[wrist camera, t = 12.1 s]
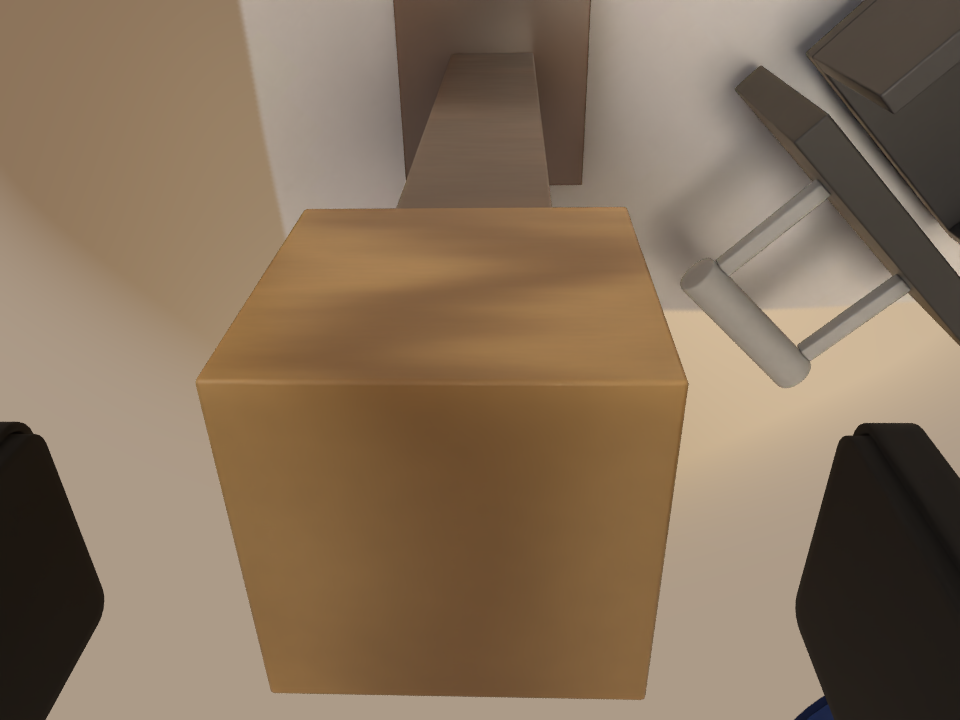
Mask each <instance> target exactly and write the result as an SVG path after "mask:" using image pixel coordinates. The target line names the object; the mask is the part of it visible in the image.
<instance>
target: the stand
mask: <svg viewBox="0 0 960 720" xmlns="http://www.w3.org/2000/svg"><path fill="white" fill-rule="evenodd" d="M393 3H394V17H395V31H396V46H397V60H398V74H399V88H400V102H401V117H402V131H403V145H404V159H405V174H406V183H405V185H404V188H403V191H402V194H401V196H400V199H399V202H398V205H397V208H396V209H407V208H552V203H551V195H550V187H549V185H582V173H583V152H584V132H585V111H586V90H587V69H588V49H589V28H590V7H591V0H393Z"/></svg>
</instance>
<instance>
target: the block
mask: <svg viewBox="0 0 960 720" xmlns="http://www.w3.org/2000/svg"><path fill="white" fill-rule="evenodd" d="M196 387H197V391H198V395H199V399H200V403H201V408H202V412H203V416H204V420H205V424H206V428H207V432H208V436H209V440H210V444H211V448H212V453H213V457H214V461H215V465H216V469H217V473H218V477H219V481H220V485H221V489H222V493H223V497H224V501H225V506H226V510H227V513H228V518H229V521H230V526H231V530H232V534H233V538H234V542H235V546H236V550H237V554H238V558H239V562H240V567H241V571H242V575H243V579H244V582H245V587H246V591H247V595H248V599H249V603H250V608H251V612H252V615H253V620H254V624H255V628H256V632H257V636H258V640H259V644H260V648H261V652H262V656H263V660H264V665H265V669H266V673H267V676H268V681H269V685H270V689H271V691H272V692H273V693H302V694H305V693H307V694H355V695H356V694H357V695H409V696H412V695H413V696H463V697H467V696H468V697H517V698H518V697H519V698H569V699H570V698H571V699H623V700H641V699H644V697H645V694H646V686H647V679H648V672H649V665H650V658H651V650H652V643H653V636H654V629H655V621H656V614H657V607H658V599H659V592H660V585H661V577H662V571H663V564H664V557H665V549H666V542H667V535H668V527H669V521H670V513H671V506H672V499H673V492H674V485H675V477H676V469H677V463H678V456H679V448H680V441H681V434H682V427H683V420H684V412H685V405H686V398H687V391H688V381H687V378H686V375H685V372H684V370H683V367H682V364H681V361H680V358H679V355H678V353H677V350H676V347H675V344H674V341H673V339H672V336H671V333H670V330H669V327H668V324H667V321H666V319H665V316H664V313H663V310H662V307H661V304H660V301H659V299H658V296H657V293H656V290H655V287H654V284H653V282H652V279H651V276H650V273H649V270H648V267H647V265H646V262H645V259H644V256H643V253H642V250H641V248H640V245H639V242H638V239H637V236H636V233H635V231H634V228H633V225H632V222H631V219H630V216H629V214H628V211H627V208H625V207H558V208H407V209H306V210H304V212H303V213H302V215H301V217H300V218H299V220H298V221H297V223H296V224H295V226H294V227H293V229H292V231H291V232H290V234H289V235H288V237H287V238H286V240H285V242H284V243H283V245H282V246H281V248H280V249H279V251H278V252H277V254H276V256H275V257H274V259H273V260H272V262H271V264H270V265H269V267H268V268H267V270H266V271H265V273H264V274H263V276H262V277H261V279H260V281H259V282H258V284H257V285H256V287H255V288H254V290H253V292H252V293H251V295H250V296H249V298H248V299H247V301H246V302H245V304H244V306H243V307H242V309H241V310H240V312H239V313H238V315H237V317H236V318H235V320H234V321H233V323H232V324H231V326H230V327H229V329H228V331H227V332H226V334H225V335H224V337H223V338H222V340H221V341H220V343H219V345H218V346H217V348H216V349H215V351H214V352H213V354H212V356H211V357H210V359H209V360H208V362H207V363H206V365H205V367H204V368H203V370H202V371H201V373H200V374H199V376H198V377H197V379H196Z"/></svg>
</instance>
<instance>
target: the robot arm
mask: <svg viewBox="0 0 960 720" xmlns="http://www.w3.org/2000/svg"><path fill="white" fill-rule="evenodd" d="M103 608H104V593H103V589H102V586H101V583H100V581H99V578H98V576H97V573H96V571H95V568H94V565H93V563H92V560H91V558H90V556H89V553H88V550H87V547H86V545H85V542H84V540H83V537H82V535H81V532H80V529H79V527H78V524H77V522H76V519H75V516H74V514H73V511H72V509H71V506H70V503H69V501H68V498H67V496H66V493H65V490H64V488H63V485H62V483H61V480H60V477H59V475H58V472H57V470H56V467H55V465H54V462H53V459H52V457H51V454H50V451H49V449H48V446H47V444H46V442H45V440H44V439H43V438H42V437H41V436H40V435H36V434H33V432H32V431H31V429H30V428H29V427H28V426H27V425H26V424H24V423H20V422H0V720H46V718H47V716H48V714H49V712H50V711H51V709H52V707H53V705H54V703H55V701H56V700H57V698H58V696H59V694H60V692H61V691H62V689H63V687H64V685H65V683H66V681H67V680H68V678H69V676H70V674H71V672H72V671H73V668H74V667H75V665H76V663H77V661H78V659H79V658H80V656H81V654H82V652H83V650H84V649H85V647H86V645H87V643H88V641H89V640H90V638H91V636H92V634H93V632H94V630H95V629H96V627H97V625H98V623H99V621H100V619H101V616H102V612H103ZM796 618H797V623H798V627H799V630H800V633H801V635H802V638H803V640H804V643H805V646H806V648H807V651H808V653H809V656H810V659H811V661H812V664H813V666H814V669H815V672H816V674H817V677H818V679H819V682H820V684H821V687H822V690H823V692H824V695H825V697H826V700H827V703H828V705H829V708H830V710H831V713H832V715H833V718H834V720H960V478H959V477H958V475H957V474H956V473H955V471H954V470H953V469H952V468H951V466H950V465H949V463H948V462H947V461H946V460H945V458H944V457H943V455H942V454H941V453H940V451H939V450H938V449H937V448H936V446H935V445H934V443H933V442H932V441H931V440H930V438H929V437H928V436H927V434H926V433H925V431H924V430H923V429H922V428H921V427H920V426H919V425H916V424H913V423H864V424H861V425H859V426H858V427H857V429H856V430H855V432H854V434H853V436H844V437H842V439H841V440H840V441H839V443H838V446H837V449H836V453H835V457H834V460H833V464H832V468H831V472H830V475H829V479H828V483H827V486H826V490H825V494H824V497H823V501H822V504H821V509H820V512H819V515H818V519H817V523H816V527H815V530H814V534H813V537H812V541H811V545H810V549H809V552H808V556H807V559H806V563H805V567H804V570H803V574H802V578H801V581H800V585H799V589H798V592H797V597H796Z"/></svg>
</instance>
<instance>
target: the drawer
mask: <svg viewBox="0 0 960 720" xmlns="http://www.w3.org/2000/svg"><path fill="white" fill-rule="evenodd" d="M806 55H807V56H808V58H809V59H810V60H811V62H812V63H813V64H814V65H815V67H816V68H817V69H818V70H819V72H820V73H821V74H822V75H823V77H824V78H825V79H826V81H827V82H828V83H829V84H830V86H831V87H832V88H833V89H834V91H835V92H836V93H837V94H838V96H839V97H840V98H841V100H842V101H843V102H844V103H845V105H846V106H847V107H848V108H849V110H850V111H851V112H852V113H853V115H854V116H855V117H856V119H857V120H858V121H859V122H860V124H861V125H862V126H863V127H864V129H865V130H866V131H867V132H868V134H869V135H870V136H871V138H872V139H873V140H874V141H875V143H876V144H877V145H878V146H879V148H880V149H881V150H882V151H883V153H884V154H885V155H886V157H887V158H888V159H889V160H890V162H891V163H892V164H893V165H894V167H895V168H896V169H897V170H898V172H899V173H900V174H901V176H902V177H903V178H904V179H905V181H906V182H907V183H908V184H909V186H910V187H911V188H912V189H913V191H914V192H915V193H916V195H917V196H918V197H919V198H920V200H921V201H922V202H923V203H924V205H925V206H926V207H927V208H928V210H929V211H930V212H931V214H932V215H933V216H934V217H935V219H936V220H937V221H938V222H939V224H940V225H941V226H942V227H943V229H944V230H945V231H946V233H947V234H948V235H949V236H950V237H951V238H953V239H954V240H955V241H957V242H958V243H959V244H960V0H865V1H863V2H862V3H861V4H860V5H859V6H858V7H857V8H856V9H854V10H853V11H852V12H851V13H850V14H849V15H848V16H847V17H845V18H844V19H843V20H842V21H841V22H840V23H839V24H838V25H836V26H835V27H834V28H833V29H832V30H831V31H830V32H828V33H827V34H826V35H825V36H824V37H823V38H822V39H821V40H819V41H818V42H817V43H816V44H815V45H814V46H813V47H812V48H810V49H809V50H808V51H807V52H806ZM735 90H736V92H737V93H738V94H739V95H740V96H741V98H742V99H743V100H744V101H745V102H746V103H747V105H748V106H749V107H750V108H751V109H752V111H753V112H754V113H755V114H756V115H757V116H758V118H759V119H760V120H761V121H762V122H763V123H764V125H765V126H766V127H767V128H768V129H769V131H770V132H771V133H772V134H773V135H774V136H775V138H776V139H777V140H778V141H779V142H780V144H781V145H782V146H783V147H784V148H785V149H786V151H787V152H788V153H789V154H790V155H791V157H792V158H793V159H794V160H795V161H796V162H797V164H798V165H799V166H800V167H801V168H802V170H803V171H804V172H805V173H806V174H807V175H808V177H809V178H810V179H811V180H812V181H813V182H812V183H810V184H809V185H808V186H807V187H806V188H804V189H803V190H802V191H801V192H799V193H798V194H797V195H796V196H794V197H793V198H792V199H791V200H789V201H788V202H787V203H786V204H784V205H783V206H782V207H781V208H780V209H778V210H777V211H776V212H775V213H773V214H772V215H771V216H770V217H768V218H767V219H766V220H765V221H763V222H762V223H761V224H760V225H758V226H757V227H756V228H755V229H754V230H752V231H751V232H750V233H749V234H747V235H746V236H745V237H744V238H742V239H741V240H740V241H739V242H737V243H736V244H735V245H734V246H733V247H731V248H730V249H729V250H728V251H726V252H725V253H724V254H723V255H721V256H720V257H719V258H718V259H717V260H716V262H717V263H716V262H715V261H714V260H713V259H710V258H706V259H702V260H700V261H698V262H697V263H695V264H694V265H693V266H691V267H690V268H689V269H688V270H687V271H686V273H685V274H684V276H683V277H682V279H681V282H680V286H681V289H682V290H683V291H684V292H685V293H686V294H687V295H688V296H689V297H690V298H691V299H692V300H693V301H694V302H695V303H696V304H697V305H698V306H699V307H700V308H701V309H702V310H703V311H704V312H705V313H706V314H707V315H708V316H709V317H710V318H711V319H712V320H713V321H714V322H715V323H716V324H717V325H718V326H719V327H720V328H721V329H722V330H723V331H724V332H725V333H726V334H727V335H728V336H729V337H730V338H731V339H732V340H733V341H734V342H735V343H736V344H737V345H738V346H739V347H740V348H741V349H742V350H743V351H744V352H745V353H746V354H747V355H748V356H749V357H750V358H751V359H752V360H753V361H754V362H755V363H756V364H757V365H758V366H759V367H760V368H761V369H762V370H763V371H764V372H765V373H766V374H767V375H768V376H769V377H770V378H771V379H772V380H773V381H774V382H775V383H776V384H777V385H778V386H779V387H782V388H790V387H793V386H795V385H797V384H799V383H800V382H802V381H803V380H804V379H805V378H806V376H807V375H808V373H809V371H810V368H811V364H810V361H811V360H813V359H814V358H816V357H817V356H819V355H820V354H821V353H823V352H824V351H826V350H827V349H829V348H830V347H831V346H833V345H834V344H836V343H837V342H838V341H840V340H841V339H843V338H844V337H845V336H847V335H848V334H850V333H851V332H853V331H854V330H855V329H857V328H858V327H860V326H861V325H863V324H864V323H865V322H867V321H868V320H870V319H871V318H873V317H874V316H875V315H877V314H878V313H879V312H881V311H882V310H884V309H885V308H887V307H888V306H890V305H891V304H892V303H894V302H895V301H897V300H898V299H899V298H901V297H902V296H904V295H905V294H907V293H909V294H910V295H911V296H912V297H913V298H914V299H915V300H916V301H917V302H918V303H919V304H920V305H921V306H922V308H923V309H924V310H925V311H927V313H928V314H929V315H930V316H931V317H932V318H933V319H934V320H935V321H936V322H937V323H938V324H939V325H940V326H941V327H942V328H943V329H944V330H945V331H946V332H947V333H948V334H949V335H950V336H951V337H952V338H953V339H954V340H955V341H956V342H957V343H958V344H959V346H960V277H959V276H958V274H957V273H956V272H955V271H954V269H953V268H952V267H951V266H950V264H949V263H948V262H947V261H946V259H945V258H944V257H943V256H942V254H941V253H940V252H939V251H938V249H937V248H936V247H935V246H934V244H933V243H932V242H931V241H930V239H929V238H928V237H927V236H926V235H925V233H924V232H923V231H922V230H921V228H920V227H919V226H918V225H917V223H916V222H915V221H914V220H913V218H912V217H911V216H910V215H909V213H908V212H907V211H906V210H905V208H904V207H903V206H902V205H901V203H900V202H899V201H898V200H897V198H896V197H895V196H894V195H893V193H892V192H891V191H890V190H889V188H888V187H887V186H886V185H885V184H884V182H883V181H882V180H881V179H880V177H879V176H878V175H877V174H876V172H875V171H874V170H873V169H872V167H871V166H870V165H869V164H868V162H867V161H866V160H865V159H864V157H863V156H862V155H861V154H860V152H859V151H858V150H857V149H856V147H855V146H854V145H853V144H852V142H851V141H850V140H849V139H848V137H847V136H846V135H845V134H844V133H843V131H842V130H841V129H840V128H839V126H838V125H837V124H836V123H835V121H834V120H833V119H832V118H831V116H830V115H829V114H827V113H826V112H825V111H823V110H822V109H821V108H819V107H818V106H816V105H815V104H814V103H812V102H811V101H810V100H808V99H807V98H805V97H804V96H803V95H801V94H800V93H799V92H797V91H796V90H794V89H793V88H792V87H790V86H789V85H787V84H786V83H785V82H783V81H782V80H781V79H779V78H778V77H776V76H775V75H774V74H772V73H771V72H770V71H768V70H767V69H765V68H764V67H763V66H759V67H758V68H757V69H756V70H754V71H753V72H752V73H751V74H750V75H749V76H748V77H747V78H746V79H745V80H743V81H742V82H741V83H740V84H739V85H738V86H737V87H736V88H735ZM826 199H828V200H829V201H830V203H831V204H832V205H833V206H834V207H835V208H836V210H837V211H838V212H839V213H840V214H841V216H842V217H843V218H844V219H845V220H846V221H847V223H848V224H849V225H850V226H851V227H852V228H853V230H854V231H855V232H856V233H857V234H858V236H859V237H860V238H861V239H862V240H863V241H864V243H865V244H866V245H867V246H868V247H869V249H870V250H871V251H872V252H873V253H874V254H875V256H876V257H877V258H878V259H879V260H880V262H881V263H882V264H883V265H884V266H885V267H886V269H887V270H888V271H889V272H890V273H891V274H892V277H891V278H890V279H888V280H887V281H885V282H884V283H883V284H881V285H880V286H878V287H877V288H876V289H874V290H873V291H871V292H870V293H869V294H867V295H866V296H865V297H863V298H862V299H860V300H859V301H858V302H856V303H855V304H853V305H852V306H851V307H849V308H848V309H846V310H845V311H844V312H842V313H841V314H839V315H838V316H837V317H835V318H834V319H833V320H831V321H830V322H828V323H827V324H826V325H824V326H823V327H822V328H820V329H819V330H817V331H816V332H814V333H813V334H812V335H810V336H809V337H808V338H806V339H805V340H803V341H802V342H801V343H799V344H798V348H799V349H798V348H797V347H796V346H795V345H794V343H793V342H792V341H791V340H790V339H789V338H788V337H787V336H786V335H785V334H784V333H783V332H782V331H781V330H780V329H779V328H778V327H777V326H776V325H775V324H774V323H773V322H772V321H771V319H770V318H769V317H768V316H767V315H766V314H765V313H764V312H763V311H762V310H761V309H760V308H759V307H758V306H757V305H756V304H755V303H754V302H753V301H752V300H751V299H750V297H749V296H748V295H747V294H746V293H745V292H744V291H743V290H742V289H741V288H740V287H739V286H738V285H737V284H736V283H735V282H734V281H733V280H732V279H731V278H730V277H729V276H730V275H731V274H733V273H734V272H735V271H736V270H738V269H739V268H740V267H742V266H743V265H744V264H745V263H747V262H748V261H749V260H750V259H752V258H753V257H754V256H755V255H757V254H758V253H759V252H760V251H762V250H763V249H764V248H766V247H767V246H768V245H769V244H771V243H772V242H773V241H774V240H776V239H777V238H778V237H779V236H781V235H782V234H783V233H784V232H786V231H787V230H788V229H790V228H791V227H792V226H793V225H795V224H796V223H797V222H798V221H800V220H801V219H802V218H803V217H805V216H806V215H807V214H808V213H810V212H811V211H812V210H814V209H815V208H816V207H817V206H819V205H820V204H821V203H822V202H824V201H825V200H826Z"/></svg>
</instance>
